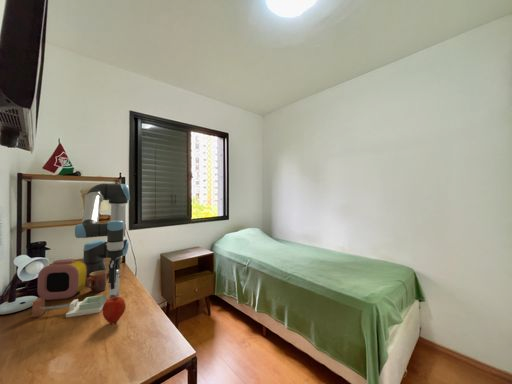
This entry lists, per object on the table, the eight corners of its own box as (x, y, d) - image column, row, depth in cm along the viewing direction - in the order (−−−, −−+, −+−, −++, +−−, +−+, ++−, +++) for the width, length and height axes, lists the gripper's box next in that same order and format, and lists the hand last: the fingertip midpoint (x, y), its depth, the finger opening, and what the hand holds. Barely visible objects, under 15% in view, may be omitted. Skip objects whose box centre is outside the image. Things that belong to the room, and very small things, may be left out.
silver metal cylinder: (110, 297, 117) (110, 269, 117) (119, 295, 118) (120, 268, 119) (107, 300, 112) (108, 272, 113) (117, 299, 114) (118, 271, 114)
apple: (129, 318, 96) (130, 294, 96) (113, 330, 88) (113, 303, 88) (114, 316, 98) (115, 292, 99) (96, 326, 90) (97, 301, 90)
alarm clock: (35, 302, 111) (36, 264, 111) (50, 292, 121) (52, 258, 122) (76, 298, 114) (77, 262, 115) (87, 290, 125) (88, 256, 126)
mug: (99, 286, 130) (99, 269, 130) (111, 288, 128) (111, 270, 128) (79, 295, 118) (79, 276, 118) (92, 297, 116) (92, 278, 117)
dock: (99, 312, 101) (100, 303, 101) (65, 317, 97) (65, 308, 97) (107, 300, 113) (107, 292, 113) (77, 305, 108) (77, 296, 108)
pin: (75, 310, 101) (75, 296, 102) (32, 317, 96) (32, 301, 96) (78, 307, 105) (78, 292, 105) (36, 313, 99) (37, 298, 99)
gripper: (111, 246, 123) (110, 287, 122) (101, 253, 106) (100, 301, 106) (126, 245, 125) (125, 285, 125) (119, 252, 109) (118, 298, 109)
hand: (114, 292), depth 115 cm, fingers closed on silver metal cylinder, 4 cm apart
